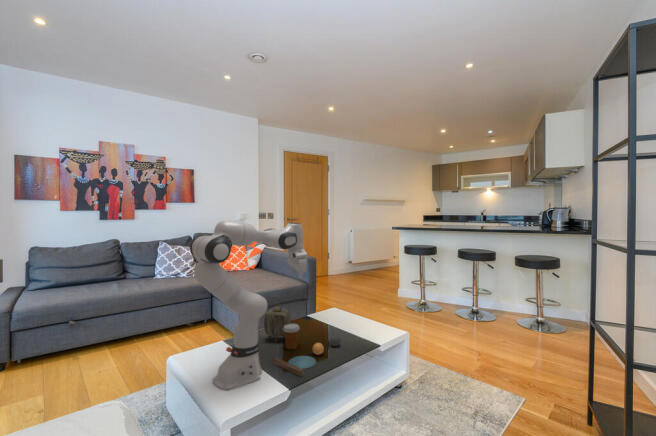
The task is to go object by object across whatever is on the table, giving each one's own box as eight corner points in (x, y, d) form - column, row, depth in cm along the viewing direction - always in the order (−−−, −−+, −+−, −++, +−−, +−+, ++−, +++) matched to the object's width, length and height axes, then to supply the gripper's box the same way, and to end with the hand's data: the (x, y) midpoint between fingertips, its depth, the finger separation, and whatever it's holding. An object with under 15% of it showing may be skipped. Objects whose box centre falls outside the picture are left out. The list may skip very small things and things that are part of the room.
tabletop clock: (290, 337, 192) (290, 297, 192) (287, 343, 183) (286, 301, 183) (267, 337, 193) (267, 296, 193) (263, 343, 184) (262, 300, 184)
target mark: (301, 371, 149) (301, 371, 149) (282, 363, 159) (282, 362, 159) (321, 361, 160) (321, 361, 160) (302, 353, 169) (302, 353, 169)
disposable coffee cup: (279, 348, 176) (279, 327, 176) (289, 342, 184) (289, 322, 184) (293, 352, 172) (293, 330, 172) (303, 345, 180) (302, 324, 180)
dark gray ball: (335, 349, 175) (335, 338, 175) (327, 346, 179) (327, 335, 179) (342, 345, 179) (342, 335, 179) (334, 343, 183) (334, 332, 183)
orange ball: (318, 357, 164) (318, 346, 164) (310, 354, 168) (310, 343, 168) (326, 354, 169) (325, 342, 169) (318, 350, 173) (317, 340, 173)
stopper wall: (300, 376, 145) (300, 371, 145) (273, 363, 158) (273, 358, 158) (303, 375, 146) (303, 369, 146) (276, 362, 160) (276, 357, 160)
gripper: (284, 248, 178) (285, 272, 180) (297, 256, 160) (298, 282, 162) (294, 247, 181) (295, 270, 183) (308, 254, 163) (309, 280, 165)
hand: (297, 276), depth 172 cm, fingers open, 8 cm apart
